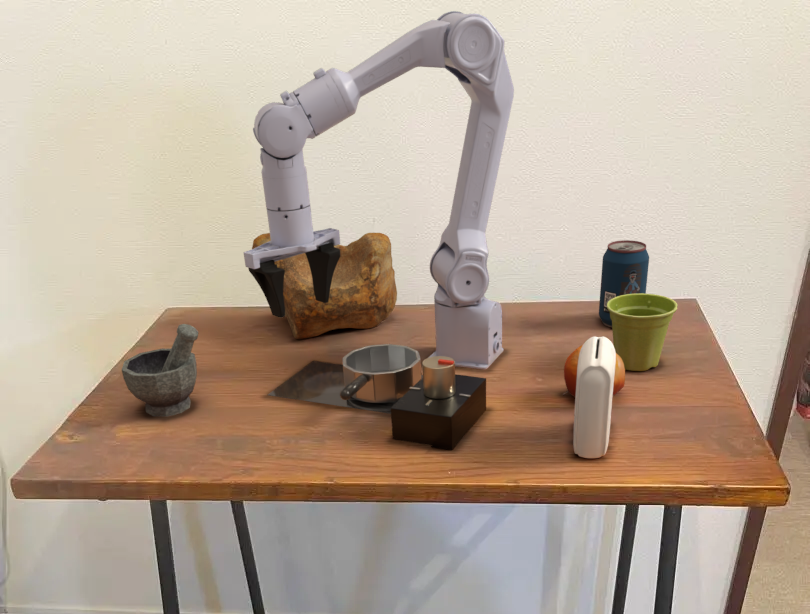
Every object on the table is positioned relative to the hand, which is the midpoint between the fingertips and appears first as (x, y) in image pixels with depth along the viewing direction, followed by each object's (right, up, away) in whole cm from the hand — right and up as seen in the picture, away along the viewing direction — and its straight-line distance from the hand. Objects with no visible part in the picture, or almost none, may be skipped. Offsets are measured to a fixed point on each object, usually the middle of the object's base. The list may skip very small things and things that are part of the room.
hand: (300, 308), depth 121 cm
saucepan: (+10, -13, -2) cm, 17 cm away
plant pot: (+48, -7, +4) cm, 48 cm away
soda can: (+49, +2, +18) cm, 52 cm away
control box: (+19, -17, -9) cm, 27 cm away
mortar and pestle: (-17, -14, 0) cm, 23 cm away
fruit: (+39, -13, -5) cm, 42 cm away
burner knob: (+19, -14, -12) cm, 26 cm away
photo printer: (+37, -20, -15) cm, 45 cm away
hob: (+7, -11, +2) cm, 13 cm away
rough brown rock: (+1, +3, +23) cm, 23 cm away
